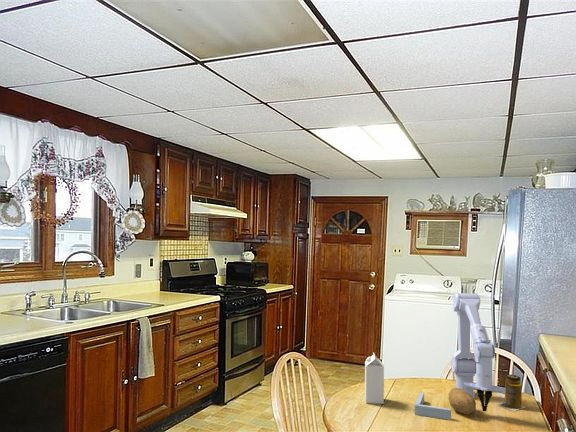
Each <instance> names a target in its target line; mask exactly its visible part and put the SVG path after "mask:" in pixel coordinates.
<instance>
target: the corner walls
mask: <svg viewBox="0 0 576 432" xmlns="http://www.w3.org/2000/svg"><path fill="white" fill-rule="evenodd" d="M424 403H425V393H424V392H421V391H420V392H419V394H418V397H417V399H416V402H415V404H414V415H415V416H422V417H423V416H424V417H429V418H436V419H441V420H442V419H443V420H448V421H451V420H452V408H448V407H441V406H433V405H426V404H424Z"/></svg>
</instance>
